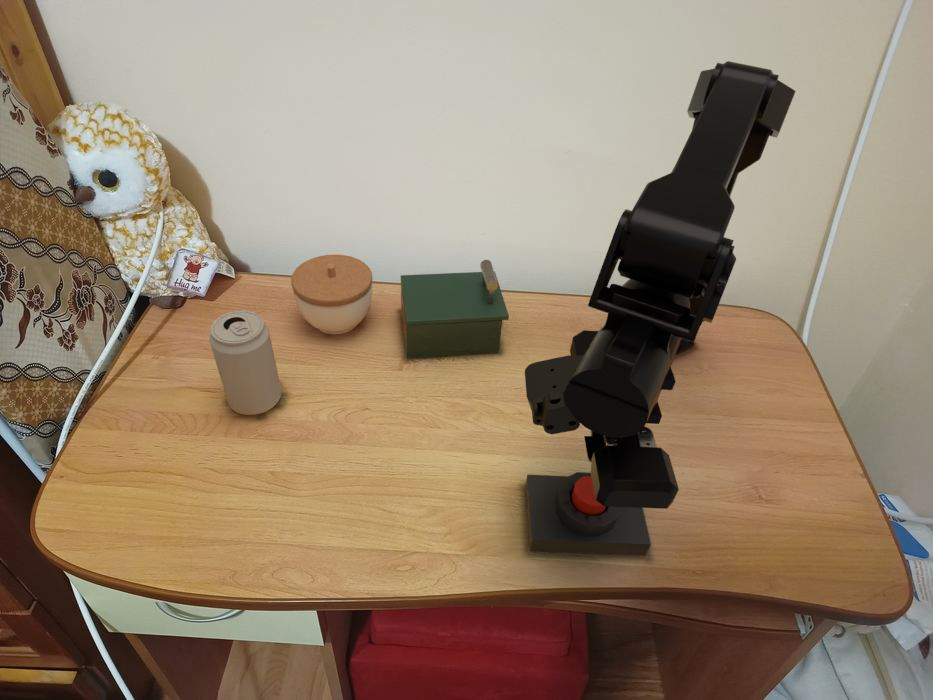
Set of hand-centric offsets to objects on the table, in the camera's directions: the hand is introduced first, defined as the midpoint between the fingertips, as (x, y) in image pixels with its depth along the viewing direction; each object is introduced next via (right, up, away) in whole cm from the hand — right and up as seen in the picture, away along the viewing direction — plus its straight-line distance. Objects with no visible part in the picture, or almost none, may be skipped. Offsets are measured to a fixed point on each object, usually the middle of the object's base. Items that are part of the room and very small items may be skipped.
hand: (599, 468), depth 61 cm
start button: (0, -4, +4) cm, 5 cm away
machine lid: (-15, +18, +24) cm, 34 cm away
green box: (-15, +14, +28) cm, 35 cm away
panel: (0, -7, +6) cm, 9 cm away
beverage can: (-39, +5, +16) cm, 43 cm away
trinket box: (-31, +16, +28) cm, 45 cm away
